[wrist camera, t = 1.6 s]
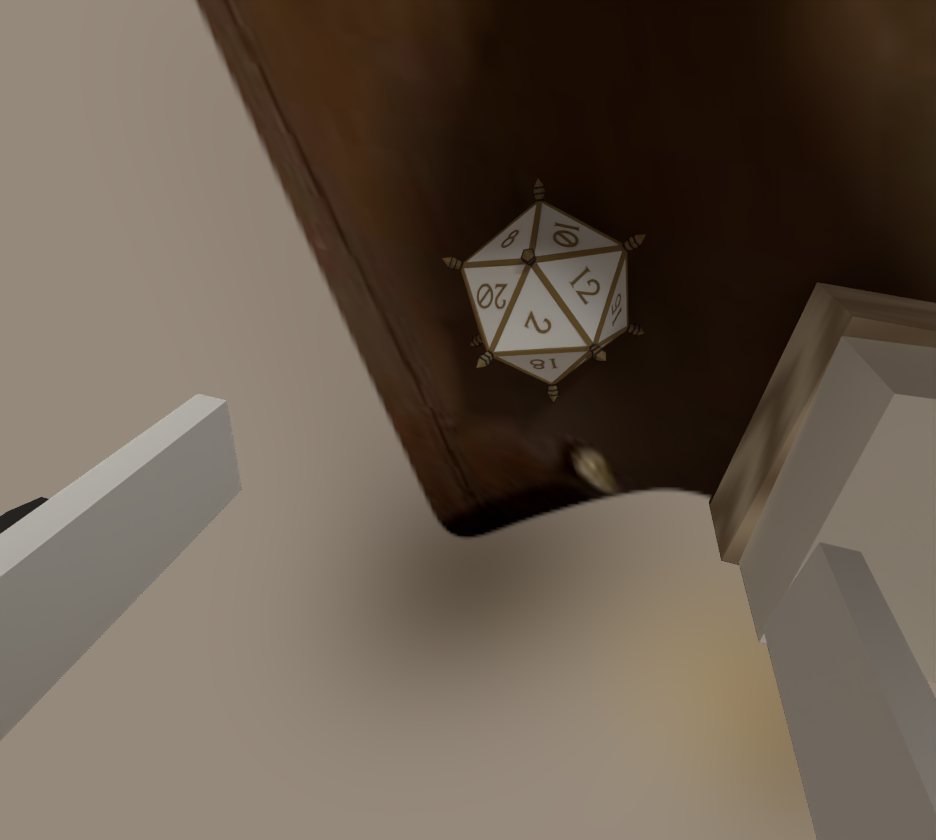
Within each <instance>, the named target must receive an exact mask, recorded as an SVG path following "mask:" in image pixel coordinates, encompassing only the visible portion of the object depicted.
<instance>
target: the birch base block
mask: <svg viewBox="0 0 936 840" xmlns="http://www.w3.org/2000/svg"><path fill="white" fill-rule="evenodd" d="M842 336H846V337H854V338H862V339H869V340H877V341H885V342H893V343H901V344H909V345H917V346H925V347H932V348H936V303H932V302H927V301H921V300H915V299H910V298H904V297H898V296H892V295H887V294H881V293H875V292H870V291H864V290H858V289H853V288H847V287H841V286H835V285H830V284H824V283H818V282H817V284H816V286H815V288H814V290H813V292H812V294H811V296H810V298H809V300H808V302H807V304H806V307H805V309H804V311H803V313H802V315H801V317H800V319H799V321H798V323H797V325H796V327H795V329H794V331H793V334H792V336H791V338H790V340H789V342H788V344H787V346H786V348H785V350H784V352H783V354H782V356H781V358H780V360H779V363H778V365H777V367H776V369H775V371H774V373H773V375H772V377H771V379H770V381H769V383H768V385H767V387H766V390H765V392H764V394H763V396H762V398H761V400H760V402H759V404H758V406H757V408H756V410H755V412H754V414H753V416H752V419H751V421H750V423H749V425H748V427H747V429H746V431H745V433H744V435H743V437H742V439H741V441H740V443H739V446H738V448H737V450H736V452H735V454H734V456H733V458H732V460H731V462H730V464H729V466H728V468H727V470H726V473H725V475H724V477H723V479H722V481H721V483H720V485H719V487H718V489H717V491H716V493H715V495H714V497H713V499H711V498H710V500H709V506H710V510H711V515H712V520H713V524H714V529H715V533H716V538H717V543H718V547H719V552H720V557H721V561H725V562H729V563H733V564H737V565H739V561H740V559H741V556H742V554H743V552H744V550H745V548H746V545H747V543H748V541H749V539H750V537H751V534H752V532H753V530H754V528H755V526H756V523H757V521H758V519H759V517H760V515H761V512H762V510H763V508H764V506H765V504H766V501H767V499H768V497H769V495H770V493H771V490H772V488H773V486H774V484H775V482H776V479H777V477H778V475H779V473H780V471H781V468H782V466H783V464H784V462H785V460H786V457H787V455H788V453H789V451H790V449H791V446H792V444H793V442H794V440H795V438H796V435H797V433H798V431H799V429H800V427H801V424H802V422H803V420H804V418H805V416H806V413H807V411H808V409H809V407H810V405H811V402H812V400H813V398H814V396H815V394H816V392H817V389H818V387H819V385H820V383H821V381H822V378H823V376H824V374H825V372H826V370H827V367H828V365H829V363H830V361H831V359H832V356H833V354H834V352H835V350H836V348H837V345H838V343H839V341H840V339H841V337H842Z"/></svg>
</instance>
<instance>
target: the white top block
mask: <svg viewBox="0 0 936 840" xmlns="http://www.w3.org/2000/svg"><path fill="white" fill-rule="evenodd" d="M819 542H822V543H826V544H830V545H834V546H838V547H843V548H847V549H851V550H855V551H859V552H861V553H862V555H863V557H864V559H865V561H866V563H867V565H868V567H869V569H870V571H871V573H872V575H873V577H874V579H875V580H876V582H877V584H878V586H879V588H880V590H881V592H882V594H883V596H884V598H885V600H886V602H887V604H888V606H889V608H890V610H891V612H892V614H893V616H894V618H895V620H896V622H897V624H898V626H899V628H900V630H901V631H902V633H903V635H904V637H905V639H906V641H907V643H908V645H909V647H910V649H911V651H912V653H913V655H914V657H915V659H916V661H917V663H918V665H919V667H920V669H921V671H922V673H923V675H924V677H925V679H926V680H928V681H932V682H936V348H932V347H925V346H917V345H909V344H901V343H893V342H885V341H877V340H869V339H862V338H854V337H846V336H842V337H841V339H840V341H839V343H838V345H837V348H836V350H835V352H834V354H833V356H832V359H831V361H830V363H829V365H828V367H827V370H826V372H825V374H824V376H823V378H822V381H821V383H820V385H819V387H818V389H817V392H816V394H815V396H814V398H813V400H812V402H811V405H810V407H809V409H808V411H807V413H806V416H805V418H804V420H803V422H802V424H801V427H800V429H799V431H798V433H797V435H796V438H795V440H794V442H793V444H792V446H791V449H790V451H789V453H788V455H787V457H786V460H785V462H784V464H783V466H782V468H781V471H780V473H779V475H778V477H777V479H776V482H775V484H774V486H773V488H772V490H771V493H770V495H769V497H768V499H767V501H766V504H765V506H764V508H763V510H762V512H761V515H760V517H759V519H758V521H757V523H756V526H755V528H754V530H753V532H752V534H751V537H750V539H749V541H748V543H747V545H746V548H745V550H744V552H743V554H742V556H741V559H740V561H739V565H740V569H741V573H742V577H743V581H744V585H745V589H746V593H747V597H748V601H749V605H750V609H751V613H752V617H753V621H754V624H755V628H756V633H757V636H758V640H759V642H760V643H764V644H767V642H766V638H765V634H764V631H763V627H764V625H765V623H766V622H767V620H768V619H769V617H770V616H771V614H772V613H773V611H774V610H775V608H776V607H777V605H778V604H779V602H780V601H781V599H782V598H783V596H784V595H785V593H786V592H787V590H788V589H789V587H790V586H791V584H792V583H793V581H794V580H795V578H796V577H797V575H798V574H799V572H800V571H801V569H802V568H803V566H804V564H805V563H806V561H807V560H808V558H809V557H810V555H811V554H812V552H813V551H814V549H815V548H816V546H817V545H818V543H819Z"/></svg>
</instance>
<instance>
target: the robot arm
mask: <svg viewBox="0 0 936 840" xmlns="http://www.w3.org/2000/svg"><path fill="white" fill-rule="evenodd" d="M241 490H242V488H241V482H240V476H239V470H238V465H237V458H236V453H235V447H234V441H233V435H232V429H231V423H230V417H229V411H228V406H227V401H226V400H222V399H218V398H213V397H209V396H205V395H201V394H197V395H195V396H194V397H193V398H191V399H190V400H188V401H187V402H186V403H184V404H183V405H181V406H180V407H178V408H177V409H176V410H174V411H173V412H171V413H170V414H169V415H167V416H166V417H164V418H163V419H162V420H160V421H159V422H157V423H156V424H154V425H153V426H152V427H150V428H149V429H147V430H146V431H145V432H143V433H142V434H140V435H139V436H138V437H136V438H135V439H133V440H132V441H131V442H129V443H128V444H126V445H125V446H123V447H122V448H121V449H120V450H118V451H116V452H115V453H114V454H112V455H111V456H109V457H108V458H107V459H105V460H104V461H102V462H101V463H100V464H98V465H97V466H95V467H94V468H92V469H91V470H90V471H88V472H87V473H86V474H84V475H83V476H81V477H80V478H78V479H77V480H76V481H74V482H73V483H71V484H70V485H69V486H67V487H66V488H65V489H63V490H62V491H60V492H59V493H57V494H56V495H54V496H53V497H52V498H50V499H47V498H43V497H40V498H38V499H36V500H33V501H31V502H29V503H26V504H24V505H22V506H19V507H17V508H15V509H12V510H10V511H8V512H6V513H5V514H3V515H2V516H0V741H1V740H2V738H4V736H5V735H6V734H7V733H8V732H9V731H10V730H11V729H12V728H13V727H14V726H15V725H16V724H17V723H18V722H19V721H20V720H21V719H22V718H23V717H24V716H25V715H26V714H27V713H28V712H29V711H30V709H31V708H32V707H33V706H34V705H35V704H36V703H37V702H38V701H39V700H40V699H41V698H42V697H43V696H44V695H45V694H46V693H47V692H48V691H49V690H50V689H51V688H52V687H53V686H54V684H55V683H56V682H57V681H58V680H59V679H60V678H61V677H62V676H63V675H64V674H65V673H66V672H67V671H68V670H69V669H70V668H71V667H72V666H73V665H74V664H75V663H76V661H78V660H79V658H80V657H81V656H82V655H83V654H84V653H85V652H86V651H87V650H88V649H89V648H90V647H91V646H92V645H93V644H94V643H95V642H96V641H97V640H98V638H100V637H101V635H103V633H104V632H105V631H106V630H107V629H108V628H109V627H110V626H111V625H112V624H113V623H114V622H115V621H116V620H117V619H118V618H119V617H120V616H121V615H122V613H123V612H124V611H125V610H126V609H127V608H128V607H129V606H130V605H131V604H132V603H133V602H134V601H135V600H136V599H137V598H138V597H139V596H140V595H141V594H142V593H143V592H144V591H145V590H146V588H148V587H149V585H151V583H152V582H153V581H154V580H155V579H156V578H157V577H158V576H159V575H160V574H161V573H162V572H163V571H164V570H165V569H166V568H167V567H168V566H169V565H170V564H171V563H172V562H173V561H174V560H175V559H176V557H177V556H178V555H179V554H180V553H181V552H182V551H183V550H184V549H185V548H186V547H187V546H188V545H189V544H190V543H191V542H192V541H193V540H194V539H195V538H196V537H197V536H198V534H199V533H201V531H202V530H203V529H204V528H205V527H206V526H207V525H208V524H209V523H210V522H211V521H212V520H213V519H214V518H215V517H216V516H217V515H218V514H219V513H220V512H221V510H222V509H224V507H225V506H226V505H227V504H228V503H229V502H230V501H231V500H232V499H233V498H234V497H235V496H236V495H237V494H238V493H239V492H240V491H241ZM763 631H764V634H765V638H766V642H767V646H768V650H769V654H770V658H771V662H772V666H773V670H774V674H775V677H776V681H777V685H778V689H779V693H780V697H781V700H782V705H783V709H784V713H785V717H786V720H787V724H788V728H789V732H790V736H791V740H792V744H793V748H794V752H795V756H796V760H797V764H798V768H799V771H800V775H801V779H802V783H803V787H804V791H805V795H806V799H807V803H808V807H809V810H810V814H811V818H812V822H813V826H814V830H815V834H816V838H817V840H936V698H935V696H934V694H933V692H932V690H931V688H930V687H929V684H928V682H927V680H926V679H925V677H924V675H923V673H922V671H921V669H920V667H919V665H918V663H917V661H916V659H915V657H914V655H913V653H912V651H911V649H910V647H909V645H908V643H907V641H906V639H905V637H904V635H903V633H902V631H901V630H900V628H899V626H898V624H897V622H896V620H895V618H894V616H893V614H892V612H891V610H890V608H889V606H888V604H887V602H886V600H885V598H884V596H883V594H882V592H881V590H880V588H879V586H878V584H877V582H876V580H875V579H874V577H873V575H872V573H871V571H870V569H869V567H868V565H867V563H866V561H865V559H864V557H863V555H862V553H861V552H859V551H855V550H851V549H847V548H843V547H838V546H834V545H830V544H826V543H822V542H819V543H818V545H817V546H816V548H815V549H814V551H813V552H812V554H811V555H810V557H809V558H808V560H807V561H806V563H805V564H804V566H803V568H802V569H801V571H800V572H799V574H798V575H797V577H796V578H795V580H794V581H793V583H792V584H791V586H790V587H789V589H788V590H787V592H786V593H785V595H784V596H783V598H782V599H781V601H780V602H779V604H778V605H777V607H776V608H775V610H774V611H773V613H772V614H771V616H770V617H769V619H768V620H767V622H766V623H765V625H764V627H763Z"/></svg>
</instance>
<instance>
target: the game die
mask: <svg viewBox="0 0 936 840" xmlns="http://www.w3.org/2000/svg"><path fill="white" fill-rule="evenodd" d="M545 188H546V187H545V186H544V185H543V184H542V183H541V181H540V180H539V178H538V179H537V181H536V184H535V186H534V188H532V189H533V190H534V194H533V196H535V199H536V202H535V203H534V204H533V205H531V206H530V207H529V208H528V209H527V210H525V211H524V212H523V213H522V214H521V215H519V216H518V217H517V218H516V219H515V220H513V221H512V222H511V223H510V224H509V225H508V226H506V227H505V228H504V229H503V230H502V231H500V232H499V233H498V234H497V235H496V236H494V237H493V238H492V239H491V240H490V241H488V242H487V243H486V244H485V245H484V246H482V247H481V248H480V249H479V250H478V251H476V252H475V253H474V254H473V255H472V256H470V257H469V258H468V259H467V260H466V261H465V262H461V261H459V260H458V258H457V259H455V258H453V256H452V257H449V258H442V259H443V260H444V262H445V263H446V264H447V266H448V268H453V270H455V269H460V270H461V273H462V276H463V279H464V283H465V286H466V289H467V293H468V296H469V299H470V303H471V306H472V309H473V313H474V316H475V320H476V323H477V326H478V330H479V333H480V335H476V337H473V338H472V342H471V346H475V347H477V346H480V344H482V343H483V344H484V346H485V349H486V351H487V352H486V353H483V354H482V355H481V356H479V358H478V359H477V361H478V363H477V368H479V367H488V364H489V363H491V359H492V358H495V359H497V360H499V361H501V362H503V363H505V364H507V365H509V366H512V367H514V368H516V369H518V370H520V371H522V372H524V373H526V374H529V375H531V376H533V377H535V378H537V379H539V380H541V381H543V382H546V383H548V384H549V388H548V389H547V391H548V394H547V395H548V396H549V397H550V398H551V399H552V400H553V402H554V401H555V399H556V398H557V396H558V395H559V393H558V388H557V387H556V383H558V382H559V381H560V380H562V379H563V378H564V377H566V376H567V375H568V374H570V373H571V372H572V371H574V370H575V369H576V368H577V367H579V366H580V365H581V364H583V363H584V362H585V361H587V360H588V359H589V358H591V357H594V358H595V361H599V360H600V361H606V353H607V352H606V351H605V350H604V349H603V348H604V347H605V346H606V345H608V344H609V343H610V342H612V341H613V340H614V339H616V338H617V337H618V336H620V335H621V334H622V333H624V332H625V331H628V332H629V334H633V335H634V336H636V337H637V335H641V334H644V332H643V330H642V329H641V327H640V325H636V324H635V323H634V324H629V322H628V266H627V252H628V251H629V250H632V249H633V250H635V248H636V247H638V246H639V247H641V243H642V241H643V239H644V237H645V235H636V234H634V235H632V237H631V238H628V239H627V241H626V242H625V243H624V244H623V243H621V242H619V241H618V240H616V239H614V238H612V237H610V236H608V235H606V234H605V233H603V232H601V231H599V230H597V229H595V228H593V227H592V226H590V225H588V224H586V223H584V222H582V221H580V220H579V219H577V218H575V217H573V216H571V215H569V214H568V213H566V212H564V211H562V210H560V209H558V208H556V207H555V206H553V205H551V204H549V203H547V202H545V201H544V194H546V192H545Z"/></svg>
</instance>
